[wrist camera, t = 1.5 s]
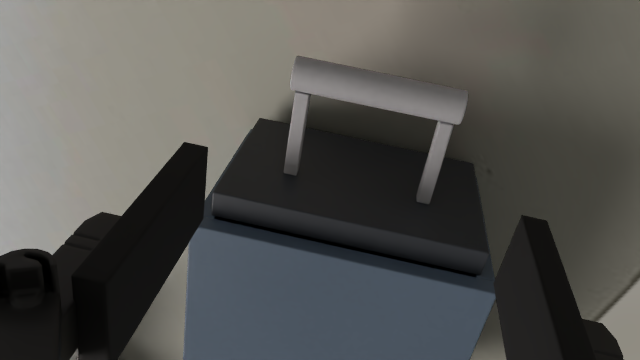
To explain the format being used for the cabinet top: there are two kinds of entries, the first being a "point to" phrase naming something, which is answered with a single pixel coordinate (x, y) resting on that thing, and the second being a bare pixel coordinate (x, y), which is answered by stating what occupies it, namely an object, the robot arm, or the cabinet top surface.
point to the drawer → (360, 175)
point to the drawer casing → (322, 300)
